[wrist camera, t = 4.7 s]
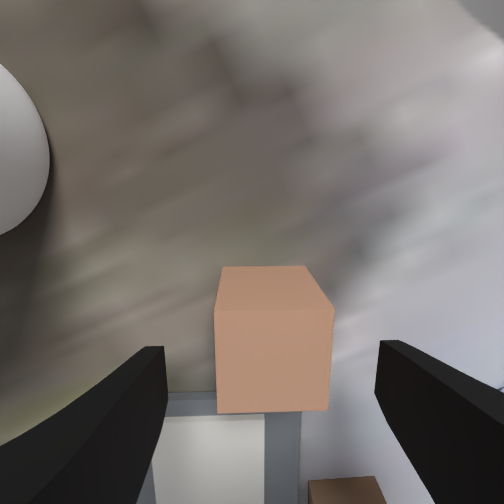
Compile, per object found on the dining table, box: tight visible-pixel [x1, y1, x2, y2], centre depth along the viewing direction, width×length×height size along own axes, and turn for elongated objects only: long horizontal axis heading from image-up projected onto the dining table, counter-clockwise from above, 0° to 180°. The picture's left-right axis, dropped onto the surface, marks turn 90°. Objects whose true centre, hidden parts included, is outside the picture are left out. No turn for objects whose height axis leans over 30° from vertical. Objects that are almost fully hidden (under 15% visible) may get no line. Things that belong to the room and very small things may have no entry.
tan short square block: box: [214, 266, 335, 414], centre depth 13 cm, size 4×4×5 cm
